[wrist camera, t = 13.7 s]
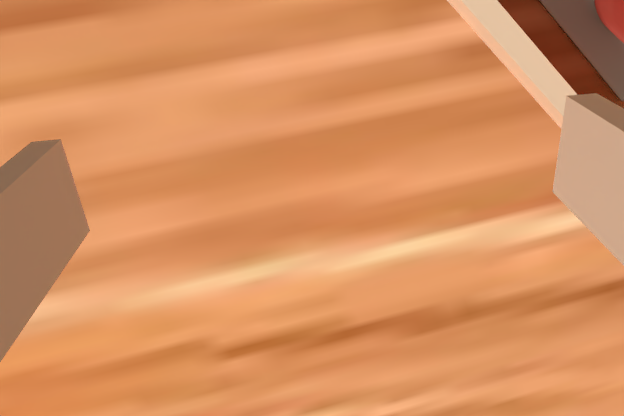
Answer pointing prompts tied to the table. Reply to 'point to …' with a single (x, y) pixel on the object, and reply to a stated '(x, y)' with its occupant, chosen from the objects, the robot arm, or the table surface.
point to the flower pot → (612, 16)
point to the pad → (591, 39)
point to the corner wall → (517, 53)
